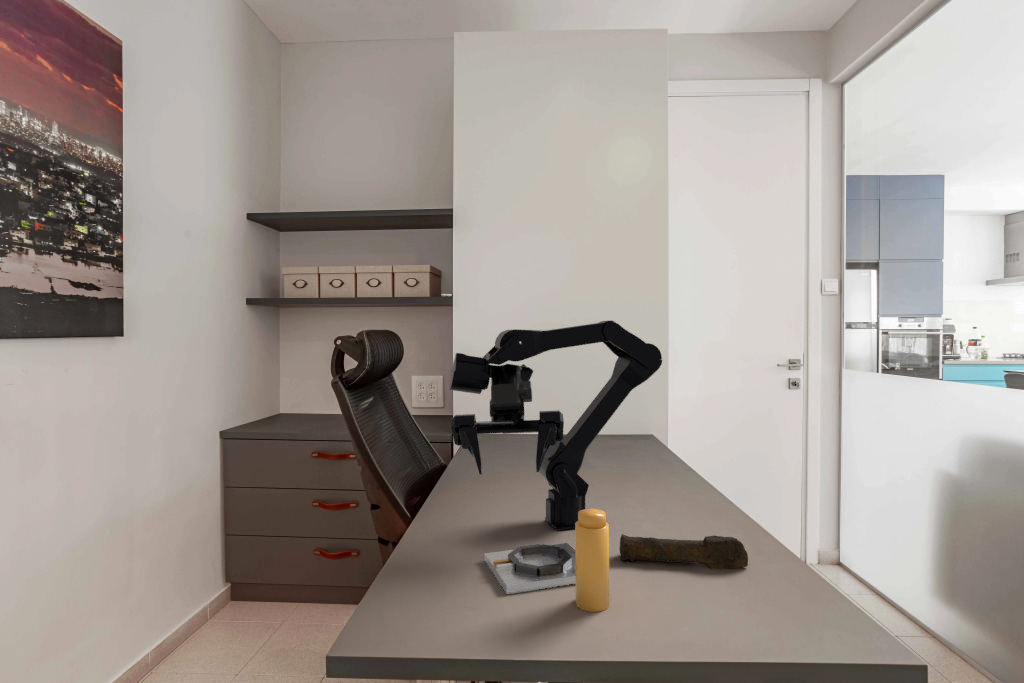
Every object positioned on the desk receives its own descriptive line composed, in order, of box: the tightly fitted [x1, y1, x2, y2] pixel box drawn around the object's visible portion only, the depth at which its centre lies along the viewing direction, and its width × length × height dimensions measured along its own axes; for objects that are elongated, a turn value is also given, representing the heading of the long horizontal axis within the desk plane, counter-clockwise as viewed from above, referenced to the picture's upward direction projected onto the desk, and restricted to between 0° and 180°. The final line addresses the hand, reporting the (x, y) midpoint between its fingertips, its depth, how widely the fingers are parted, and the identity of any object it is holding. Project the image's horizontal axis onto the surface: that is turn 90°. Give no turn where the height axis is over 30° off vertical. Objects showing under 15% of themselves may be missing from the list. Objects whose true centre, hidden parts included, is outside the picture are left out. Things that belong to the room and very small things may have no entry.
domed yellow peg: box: [574, 508, 610, 613], centre depth 75 cm, size 4×4×12 cm
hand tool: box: [619, 533, 749, 570], centre depth 87 cm, size 19×4×5 cm, turn 76°
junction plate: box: [484, 542, 576, 595], centre depth 85 cm, size 14×12×2 cm
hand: (509, 472), depth 91 cm, fingers open, 9 cm apart
